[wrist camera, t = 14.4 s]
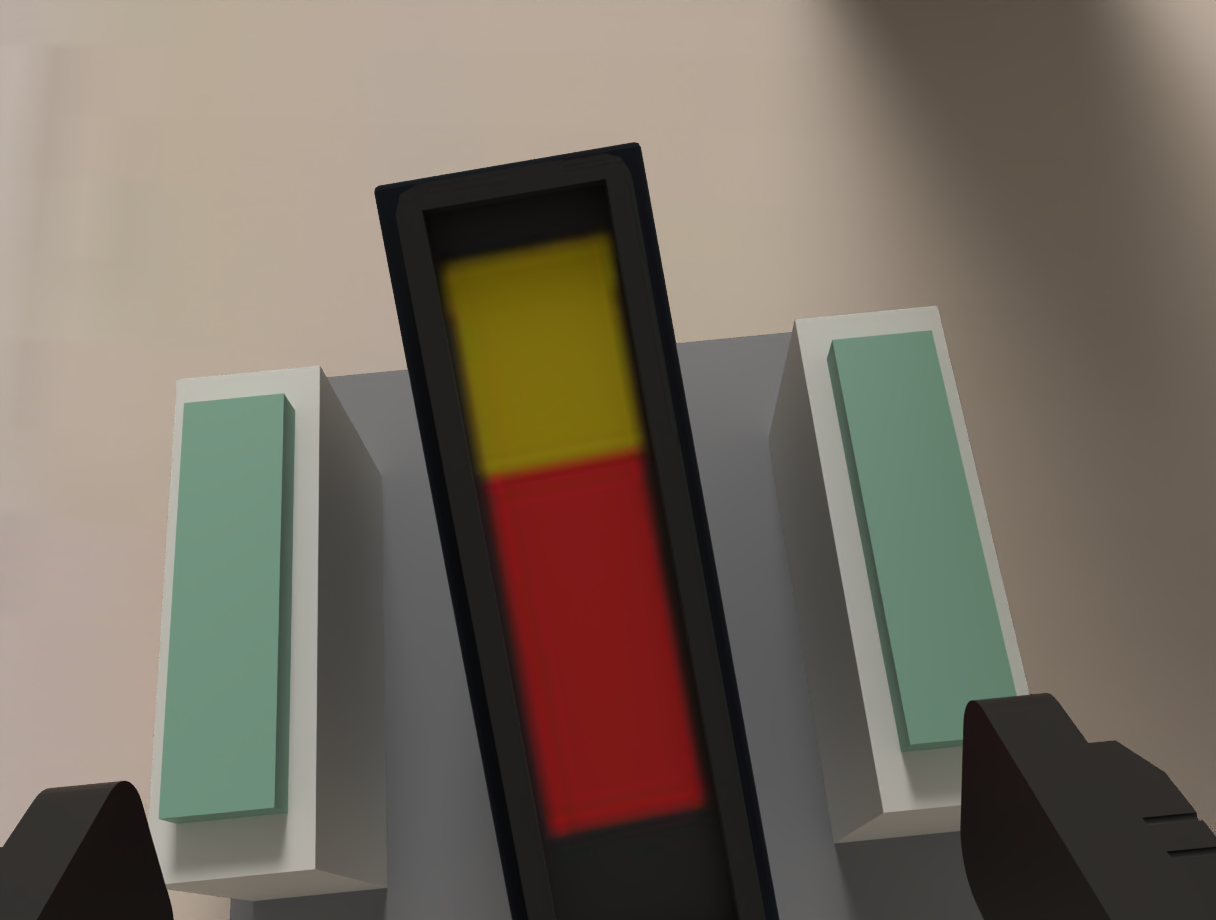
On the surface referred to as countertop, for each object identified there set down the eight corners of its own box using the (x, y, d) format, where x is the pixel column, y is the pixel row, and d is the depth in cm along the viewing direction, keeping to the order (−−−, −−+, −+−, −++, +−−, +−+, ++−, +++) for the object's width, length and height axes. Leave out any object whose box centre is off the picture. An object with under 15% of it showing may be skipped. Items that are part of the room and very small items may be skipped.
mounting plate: (267, 409, 32) (147, 239, 25) (872, 350, 32) (940, 163, 25) (247, 1048, 26) (79, 1087, 18) (1001, 973, 26) (1147, 981, 18)
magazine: (593, 271, 30) (648, 117, 15) (683, 766, 30) (823, 1098, 15) (450, 297, 30) (359, 166, 15) (543, 794, 30) (547, 1157, 15)
